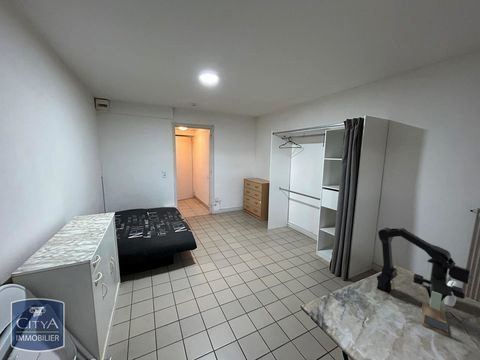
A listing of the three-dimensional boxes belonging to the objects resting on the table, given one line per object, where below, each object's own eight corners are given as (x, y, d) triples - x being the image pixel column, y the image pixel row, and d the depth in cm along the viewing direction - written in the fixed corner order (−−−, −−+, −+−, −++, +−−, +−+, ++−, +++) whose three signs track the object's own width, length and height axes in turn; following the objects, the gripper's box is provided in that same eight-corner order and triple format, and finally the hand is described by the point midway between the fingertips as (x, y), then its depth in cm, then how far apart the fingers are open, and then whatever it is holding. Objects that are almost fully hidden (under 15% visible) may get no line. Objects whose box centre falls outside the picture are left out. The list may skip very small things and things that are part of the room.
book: (430, 307, 102) (432, 291, 100) (429, 298, 107) (431, 284, 106) (439, 310, 99) (441, 295, 98) (438, 302, 105) (440, 287, 104)
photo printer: (446, 296, 117) (449, 277, 115) (457, 300, 113) (460, 281, 111) (442, 303, 111) (445, 283, 109) (453, 308, 107) (456, 288, 106)
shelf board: (422, 325, 97) (422, 323, 97) (421, 302, 111) (422, 301, 111) (448, 336, 91) (448, 334, 91) (444, 311, 105) (444, 309, 105)
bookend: (423, 322, 97) (424, 315, 96) (423, 321, 98) (424, 314, 97) (446, 332, 91) (448, 325, 91) (446, 331, 92) (447, 324, 92)
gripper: (414, 272, 101) (411, 299, 103) (469, 289, 89) (463, 319, 91) (415, 263, 109) (411, 288, 112) (465, 277, 97) (460, 305, 99)
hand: (434, 299), depth 103 cm, fingers closed on book, 3 cm apart
